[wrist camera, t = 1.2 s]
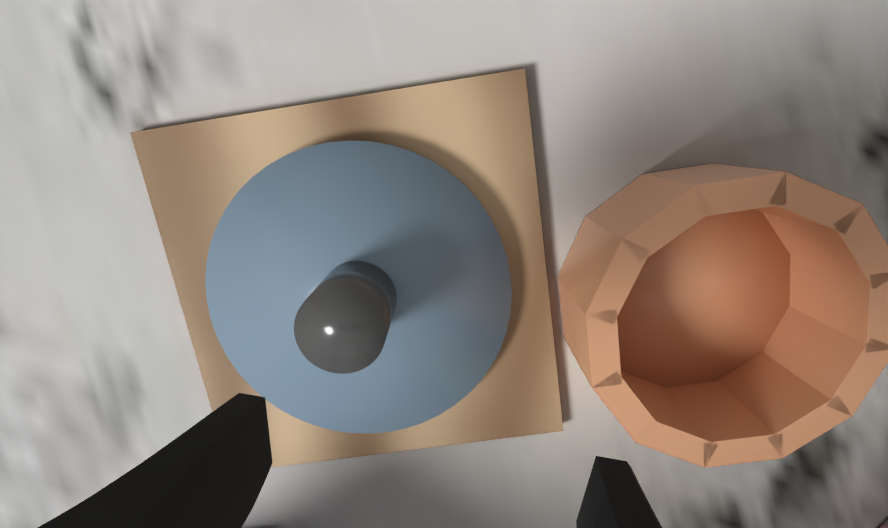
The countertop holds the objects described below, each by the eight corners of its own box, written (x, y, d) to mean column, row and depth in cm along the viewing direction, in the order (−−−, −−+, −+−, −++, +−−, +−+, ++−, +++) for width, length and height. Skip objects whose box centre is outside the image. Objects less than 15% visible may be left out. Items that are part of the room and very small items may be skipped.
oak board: (235, 465, 23) (230, 472, 23) (138, 132, 20) (130, 132, 19) (561, 424, 23) (563, 430, 22) (523, 69, 19) (524, 68, 18)
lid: (254, 439, 22) (210, 509, 18) (179, 166, 19) (105, 175, 15) (525, 403, 22) (543, 467, 18) (488, 116, 19) (500, 111, 15)
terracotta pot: (571, 412, 22) (600, 480, 18) (548, 187, 20) (575, 202, 16) (802, 383, 22) (890, 445, 18) (808, 148, 19) (911, 153, 15)
